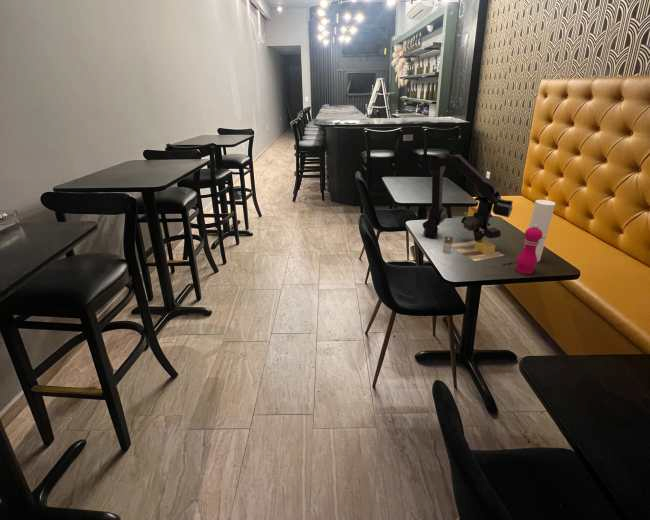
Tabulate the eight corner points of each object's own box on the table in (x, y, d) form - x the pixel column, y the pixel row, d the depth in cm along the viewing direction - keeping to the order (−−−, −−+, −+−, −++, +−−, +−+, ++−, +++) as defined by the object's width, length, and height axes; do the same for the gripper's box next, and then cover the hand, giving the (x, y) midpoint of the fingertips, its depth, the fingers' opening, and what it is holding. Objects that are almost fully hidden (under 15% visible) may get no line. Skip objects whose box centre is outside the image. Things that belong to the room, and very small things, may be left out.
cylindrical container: (538, 256, 169) (553, 200, 158) (541, 262, 163) (556, 205, 152) (520, 253, 171) (534, 199, 160) (522, 260, 165) (536, 204, 154)
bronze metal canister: (440, 253, 171) (443, 237, 167) (446, 252, 172) (449, 236, 168) (445, 256, 168) (447, 239, 165) (451, 255, 169) (454, 238, 166)
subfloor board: (447, 247, 177) (447, 244, 176) (475, 242, 182) (475, 239, 181) (473, 264, 162) (474, 261, 161) (503, 258, 167) (504, 255, 166)
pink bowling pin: (536, 275, 153) (549, 228, 144) (516, 274, 154) (528, 226, 145) (531, 267, 159) (543, 221, 150) (512, 266, 160) (523, 220, 151)
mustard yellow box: (473, 248, 172) (475, 241, 171) (482, 246, 174) (484, 239, 173) (485, 254, 166) (486, 247, 165) (494, 252, 168) (495, 245, 167)
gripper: (454, 206, 171) (448, 238, 179) (484, 221, 156) (476, 256, 164) (475, 203, 175) (468, 235, 183) (505, 218, 160) (496, 252, 167)
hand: (476, 244), depth 174 cm, fingers closed
